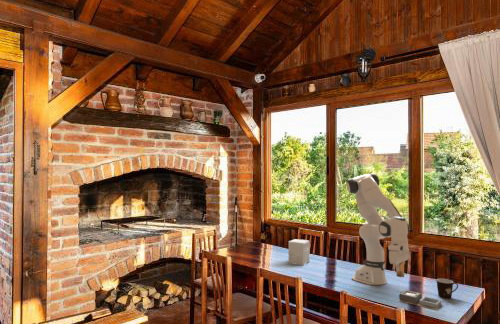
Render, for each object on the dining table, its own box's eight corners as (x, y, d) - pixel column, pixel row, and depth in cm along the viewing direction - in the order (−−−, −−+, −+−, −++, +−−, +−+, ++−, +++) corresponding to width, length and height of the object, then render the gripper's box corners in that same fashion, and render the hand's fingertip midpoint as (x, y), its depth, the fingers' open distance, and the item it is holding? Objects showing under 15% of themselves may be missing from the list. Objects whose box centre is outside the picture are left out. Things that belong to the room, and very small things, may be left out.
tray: (419, 304, 194) (419, 300, 194) (424, 300, 200) (424, 296, 200) (436, 309, 188) (436, 304, 188) (441, 304, 194) (441, 300, 195)
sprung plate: (404, 296, 201) (404, 294, 201) (407, 294, 205) (407, 292, 205) (413, 298, 198) (413, 296, 198) (416, 296, 202) (416, 294, 202)
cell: (395, 276, 203) (395, 260, 204) (398, 274, 206) (397, 259, 206) (402, 277, 200) (402, 262, 201) (405, 276, 203) (404, 260, 204)
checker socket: (399, 300, 201) (399, 292, 201) (405, 296, 208) (405, 288, 208) (416, 304, 195) (416, 296, 195) (421, 300, 202) (421, 292, 202)
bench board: (397, 301, 201) (397, 300, 201) (404, 296, 209) (404, 295, 209) (436, 311, 187) (436, 309, 187) (442, 305, 195) (442, 304, 195)
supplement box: (309, 262, 290) (309, 240, 290) (303, 265, 278) (303, 243, 279) (294, 259, 296) (294, 238, 297) (288, 263, 285) (288, 241, 286)
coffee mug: (437, 299, 204) (437, 282, 205) (435, 294, 213) (435, 278, 213) (460, 302, 200) (460, 284, 201) (457, 297, 208) (457, 280, 209)
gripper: (401, 242, 214) (401, 265, 213) (386, 246, 199) (387, 272, 198) (412, 243, 209) (412, 267, 209) (398, 248, 195) (398, 274, 194)
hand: (400, 269), depth 203 cm, fingers closed on cell, 4 cm apart
